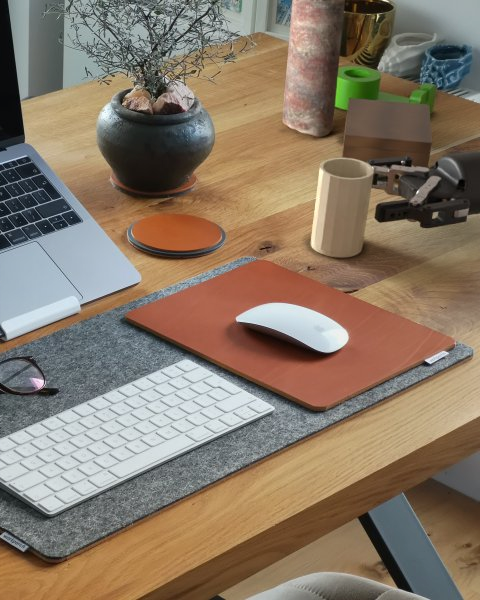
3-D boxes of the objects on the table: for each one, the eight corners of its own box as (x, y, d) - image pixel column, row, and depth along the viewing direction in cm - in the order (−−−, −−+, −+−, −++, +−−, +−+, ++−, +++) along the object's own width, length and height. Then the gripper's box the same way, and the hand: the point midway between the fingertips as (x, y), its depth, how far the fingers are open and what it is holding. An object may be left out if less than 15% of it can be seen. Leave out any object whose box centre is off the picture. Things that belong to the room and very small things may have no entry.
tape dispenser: (322, 104, 172) (325, 75, 169) (341, 91, 177) (345, 63, 174) (415, 126, 164) (420, 96, 162) (433, 112, 169) (438, 82, 167)
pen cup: (362, 237, 134) (374, 160, 129) (361, 260, 129) (373, 181, 124) (312, 231, 135) (321, 155, 130) (308, 254, 130) (318, 176, 125)
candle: (278, 136, 161) (291, -3, 150) (281, 117, 167) (294, -17, 157) (331, 140, 159) (349, 1, 149) (332, 121, 165) (349, -14, 155)
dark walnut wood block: (422, 144, 158) (429, 104, 155) (424, 185, 146) (431, 142, 143) (343, 137, 160) (348, 97, 157) (339, 176, 149) (344, 134, 146)
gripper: (453, 130, 137) (334, 144, 133) (523, 177, 125) (394, 193, 121) (443, 186, 141) (326, 201, 137) (509, 236, 129) (384, 254, 125)
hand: (358, 197), depth 129 cm, fingers open, 8 cm apart
